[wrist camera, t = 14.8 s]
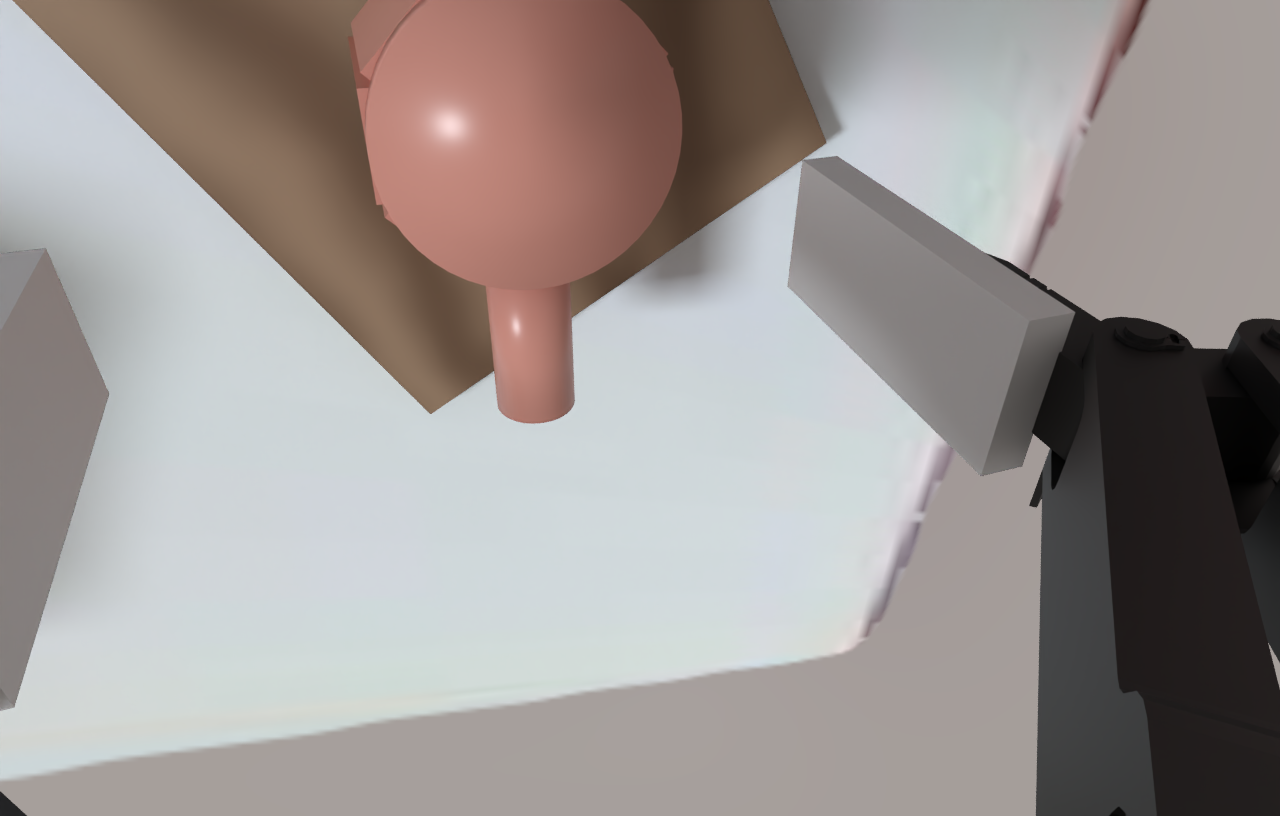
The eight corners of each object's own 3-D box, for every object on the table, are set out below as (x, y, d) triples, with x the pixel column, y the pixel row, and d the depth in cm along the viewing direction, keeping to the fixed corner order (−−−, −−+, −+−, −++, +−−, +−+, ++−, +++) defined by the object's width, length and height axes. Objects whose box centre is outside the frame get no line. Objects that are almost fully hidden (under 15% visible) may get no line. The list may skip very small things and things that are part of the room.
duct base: (427, 397, 41) (453, 526, 34) (-4, -38, 27) (-121, 20, 20) (811, 132, 39) (927, 207, 32) (560, -468, 26) (661, -580, 18)
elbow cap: (330, -63, 27) (336, -26, 21) (609, -69, 30) (689, -37, 24) (401, 348, 36) (420, 460, 30) (612, 318, 39) (670, 416, 33)
